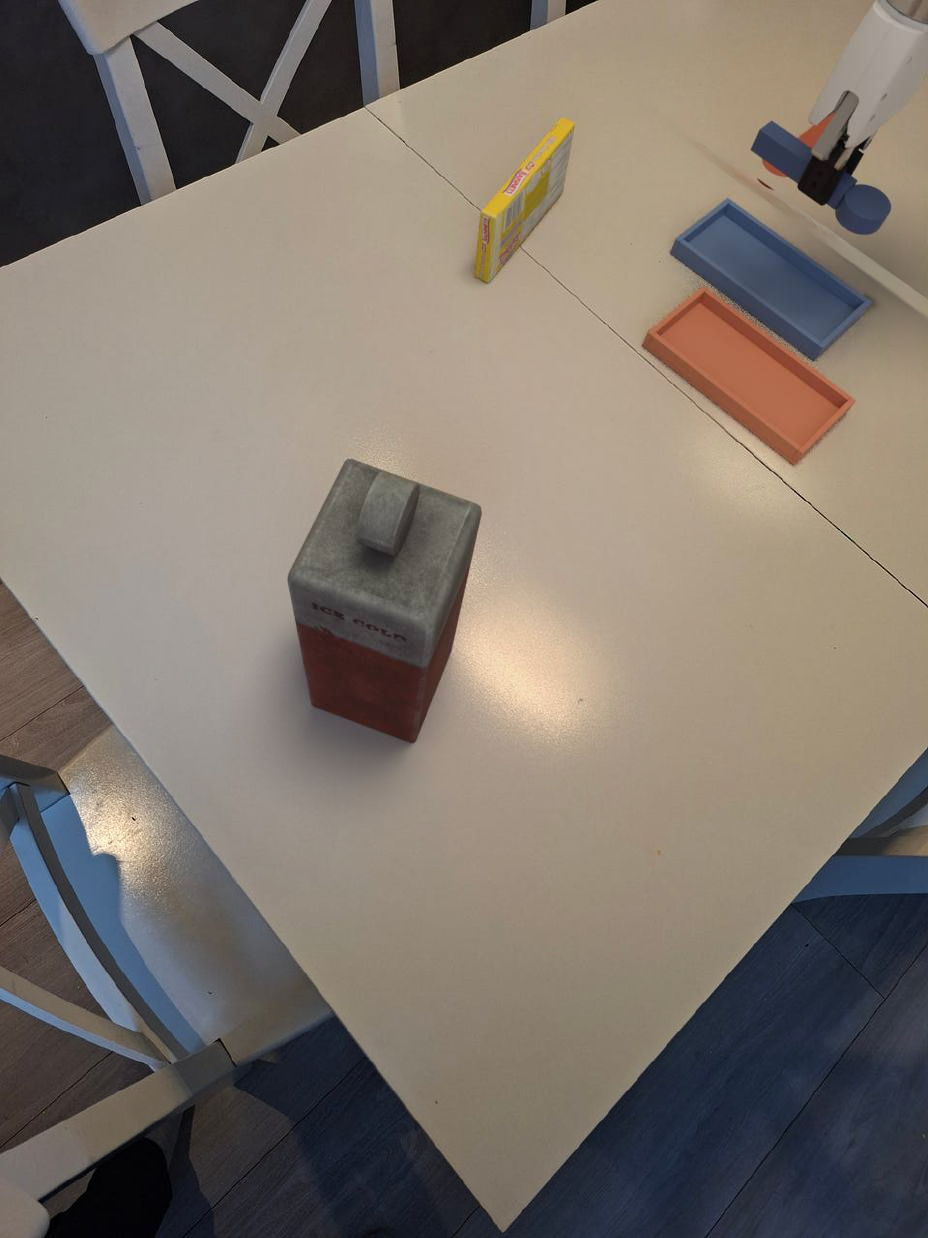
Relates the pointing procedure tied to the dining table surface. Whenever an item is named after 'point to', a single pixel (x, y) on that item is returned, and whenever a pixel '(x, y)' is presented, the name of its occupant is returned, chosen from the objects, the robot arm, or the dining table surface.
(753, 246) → the blue tray
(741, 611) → the dining table surface
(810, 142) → the terracotta spoon
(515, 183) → the candy box
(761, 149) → the blue spoon
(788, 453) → the terracotta tray
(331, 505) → the red grey lidded canister
